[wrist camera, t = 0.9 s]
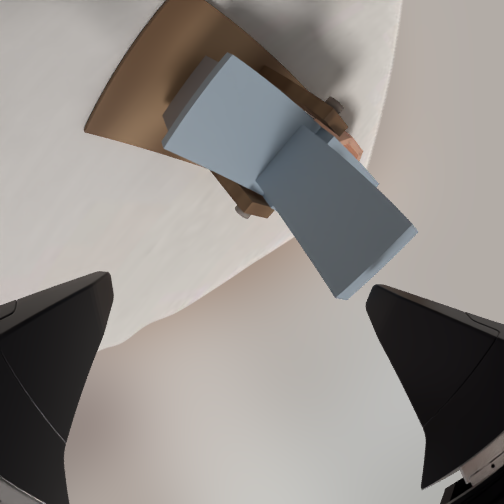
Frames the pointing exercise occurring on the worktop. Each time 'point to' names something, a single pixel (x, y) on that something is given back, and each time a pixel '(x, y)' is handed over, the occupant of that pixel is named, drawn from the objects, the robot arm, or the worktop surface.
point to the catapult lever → (287, 169)
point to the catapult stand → (175, 75)
